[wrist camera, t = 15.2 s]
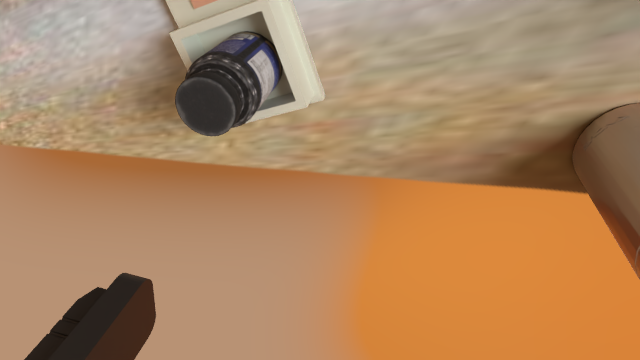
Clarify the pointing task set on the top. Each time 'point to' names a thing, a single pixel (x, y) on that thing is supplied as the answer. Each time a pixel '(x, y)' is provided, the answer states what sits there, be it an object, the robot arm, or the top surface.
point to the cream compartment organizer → (260, 17)
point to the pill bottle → (228, 83)
